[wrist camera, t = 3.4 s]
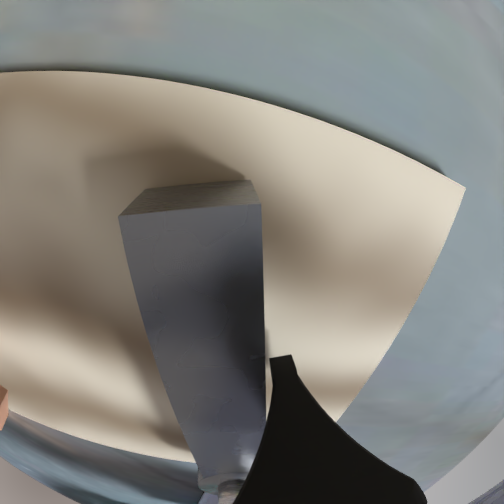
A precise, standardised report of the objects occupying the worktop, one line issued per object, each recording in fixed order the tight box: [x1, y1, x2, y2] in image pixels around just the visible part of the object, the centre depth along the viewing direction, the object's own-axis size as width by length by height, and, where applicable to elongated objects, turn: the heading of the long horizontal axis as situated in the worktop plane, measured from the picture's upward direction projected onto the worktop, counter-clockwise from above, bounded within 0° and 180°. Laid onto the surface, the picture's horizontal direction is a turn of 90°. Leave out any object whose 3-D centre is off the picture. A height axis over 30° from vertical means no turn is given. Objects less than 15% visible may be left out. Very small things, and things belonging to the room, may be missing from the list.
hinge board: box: [0, 71, 466, 463], centre depth 11 cm, size 19×24×1 cm
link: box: [118, 180, 266, 504], centre depth 10 cm, size 16×4×4 cm, turn 2°
